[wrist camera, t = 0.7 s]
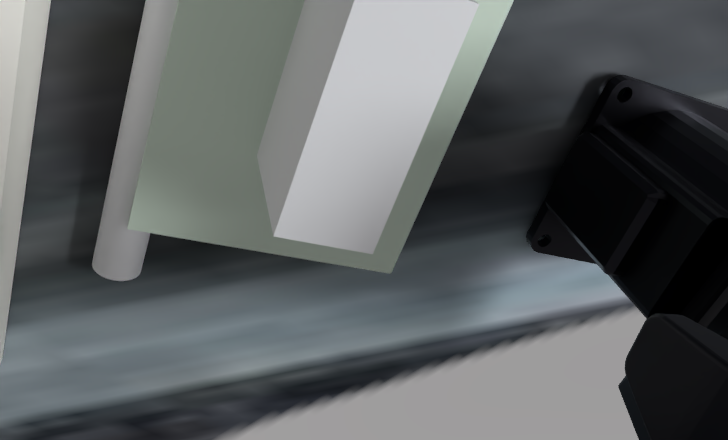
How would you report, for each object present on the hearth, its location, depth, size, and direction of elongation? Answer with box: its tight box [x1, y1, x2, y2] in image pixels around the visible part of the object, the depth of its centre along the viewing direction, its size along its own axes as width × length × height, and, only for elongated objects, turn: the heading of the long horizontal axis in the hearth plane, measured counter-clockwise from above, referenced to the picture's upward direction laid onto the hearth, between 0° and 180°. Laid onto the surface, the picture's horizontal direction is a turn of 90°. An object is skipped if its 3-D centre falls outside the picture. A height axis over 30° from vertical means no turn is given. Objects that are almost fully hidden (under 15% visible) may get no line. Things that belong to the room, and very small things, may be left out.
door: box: [92, 0, 514, 281], centre depth 16 cm, size 9×16×6 cm, turn 160°
